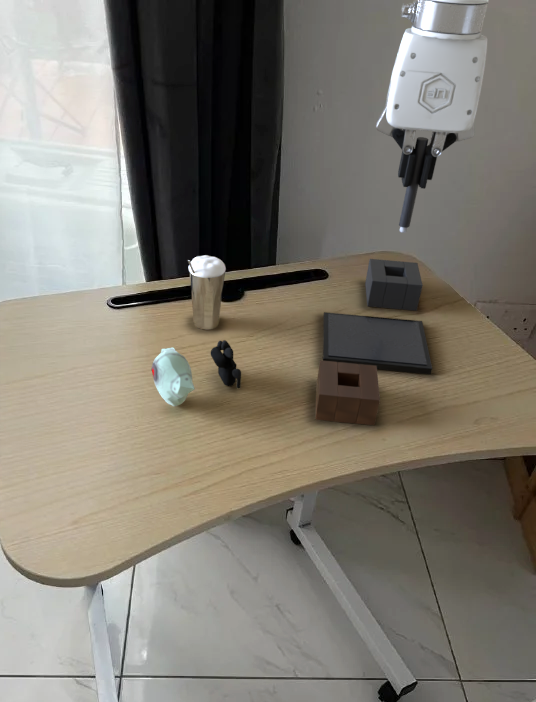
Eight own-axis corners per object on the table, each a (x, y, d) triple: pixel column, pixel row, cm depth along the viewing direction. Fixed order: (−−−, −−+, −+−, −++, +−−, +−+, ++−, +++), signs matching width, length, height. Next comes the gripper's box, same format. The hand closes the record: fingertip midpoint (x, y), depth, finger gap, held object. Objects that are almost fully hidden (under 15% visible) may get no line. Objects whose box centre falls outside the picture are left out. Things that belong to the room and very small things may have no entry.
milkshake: (176, 324, 86) (175, 253, 79) (206, 310, 89) (208, 241, 83) (200, 339, 83) (201, 267, 77) (230, 324, 86) (233, 253, 80)
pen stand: (371, 390, 76) (376, 365, 74) (374, 425, 71) (380, 400, 69) (316, 384, 77) (319, 360, 74) (315, 419, 72) (319, 394, 69)
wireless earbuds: (243, 397, 74) (245, 360, 71) (222, 401, 73) (223, 364, 70) (223, 363, 79) (224, 327, 76) (203, 366, 79) (203, 330, 75)
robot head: (201, 422, 70) (201, 371, 66) (163, 430, 69) (162, 378, 65) (179, 380, 76) (179, 330, 72) (145, 386, 75) (142, 336, 71)
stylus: (407, 229, 88) (427, 137, 81) (408, 233, 87) (429, 140, 80) (397, 228, 88) (416, 136, 81) (398, 233, 87) (417, 140, 80)
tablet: (420, 326, 88) (422, 320, 87) (430, 374, 79) (432, 367, 79) (323, 317, 89) (323, 311, 88) (322, 364, 80) (323, 357, 79)
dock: (411, 287, 96) (417, 262, 94) (416, 311, 91) (422, 285, 89) (365, 283, 97) (369, 258, 94) (367, 306, 91) (372, 280, 89)
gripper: (379, 19, 70) (352, 189, 81) (528, 29, 69) (480, 200, 80) (375, 9, 76) (350, 169, 87) (512, 18, 75) (470, 178, 86)
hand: (413, 183), depth 84 cm, fingers closed on stylus, 1 cm apart
